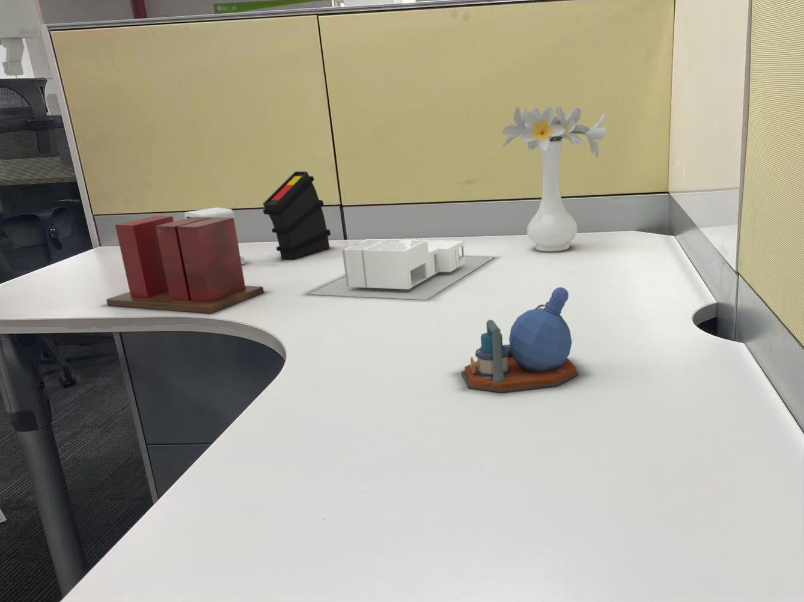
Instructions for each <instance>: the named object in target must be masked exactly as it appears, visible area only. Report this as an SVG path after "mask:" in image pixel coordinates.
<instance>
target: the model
mask: <svg viewBox="0 0 804 602" xmlns="http://www.w3.org/2000/svg"><path fill="white" fill-rule="evenodd" d="M568 300H569V292H568V289H566V288H565V287H562V286H560V287H559V286H557V288H555V289H554V290H553V291H552V292H551V296H550V297H549V300H548V301H546V302H545V304H538V306H536V307H535V308H532V309H529V310H526V311H525V312H523V313H522V314H520V315H519V316H518V317H516V319H515V321H514V322H513V324H512V325H511V327H510V332H509V337H508V341H509V344H503V333H501V329H500V328H499V326H498V325H497V324H496V322H495V321H494V320H493V319H488V320H487V321H486V323H485V324H486V332H484V333H481V334H480V347H479V348H477V349H476V350H475V357H476V359H477V360H476V361H475V360H474V357H473V356H470V362H469V364H468V365H465V366H464V370H461V372H460V374H461V377H463V380H464V382H465V384H466V386H467V388H468V389H473V390H480V391H487V392H493V393H507V392H508V393H510V392H518V391H526V390H527V391H528V390H535V389H543V388H552V387H558V386H560V385H562V384H564V383H566V382H568V381H570V380H572V379H574V378H576V377H577V376H579V371H578V370H577V367H576V366H575V364H574V363H573V362H572V361H571V360H570V359H569V358H568V357H569V356H570V353H571V348H572V345H573V340H572V334H571V330H570V327H569V325H568V323H567V322H566V321H565V319H564V317H563V316H562V315H561V314H562V310H563V309H564V307H565V305H566V303H567V301H568ZM543 307H544V308H543Z"/></svg>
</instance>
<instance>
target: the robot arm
mask: <svg viewBox="0 0 804 602" xmlns="http://www.w3.org/2000/svg"><path fill="white" fill-rule="evenodd" d="M41 32H42V23H41V19H40V16H39V13H38V10H37V7H36V4H35V1H34V0H0V41H1V44H2V47H3V48H5V49H6V51H5V52H6V53H5V61H1V63H2V67H3V72H4V74H5V75H6V76H23V75H24V67H23V65H22V60H23V56H24V51H25V45H24V41H23V39H29V38H31V39H32V38H39V37H40V35H41Z"/></svg>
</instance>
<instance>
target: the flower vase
mask: <svg viewBox="0 0 804 602" xmlns="http://www.w3.org/2000/svg"><path fill="white" fill-rule="evenodd" d="M555 114H556V115H555ZM581 116H582V111H581V109H580V108H579V107H574V108H572V109H571V111H570V112H569V113H568V115H567V113H566V111H565V110H564V109H563V108H562V107H561V106H559V105H558V106H555V110H554V107H551V106H548V107H547V108H545V109H544V111H542V112H541V110H540V109H539V108H538V107H535V106H534V107H532V109H531V111H527V108H525V109H524V110H523V111H522V112H521V109H520V107H519V106H516V107H515V110H514V113H513V121H514V123H509V124H507V125H505V127H504V128H503V129H502V131H501V132H502V135H506V136H507V138H506V139H505V140H504V142H503V144H502V146H503V147H506V146H507V145H509V144H510V143H511V142H512V141H513V140H516V138H518V137H520V138H519V140H520V141H521V142H523V143H527V149H528V150H530V151H533V150H535V149H536V148H538V149H539V153H540V159H541V170H542V172H541V173H542V175H541V176H542V183H541V185H542V187H541V189H542V190H541V198H540V199H541V200H540V204H539V207H538V209H537V211H536V213H534V215H533V216H532V218H531V219H530V220H529V222H528V224H527V226H526V227H527V228H526V235H527V237H528V238H529V240H530V241H531V242H532V243H534V244H535V249H536V250H537V251H540V252H545V253H546V252H549V253H552V252H554V253H555V252H561V251H566V250H569V248H570V243H571V242H573V240H574V239H575V238H576V236H577V235H578V232H579V230H578V225H577V222H576V220H575V218H574V217H573V216H572V215H571V214H570V213H569V212H568V211H567V209H566V208H565V207H566V206H565V204H564V203H563V199H562V195H561V186H560V185H561V184H560V164H559V163H560V155H561V148H562V146H563V139H565V140H567V141H569V142H570V143H571V144H572V145H573V146H575V147H578V144H580V145H584V141H583V140H582V138H581V137H580V136H579V135H584V136H586V138H587V141H588V144H589V148H590V152H591V154H594V155H595V158H598V157H599V155H600V145H599V142H598V141H601V140H603V139H604V138H605V137H606V134H607V129H606V127H601V126H602V125H603V123H604V120H605V118H606V113H603V114H602V116H601V117H600V118H599V119H598V121H597V122H595V124H594V125H592V127H591V128H589V126H587V125H585V124H583V123H578V122H579V121H580V119H581Z"/></svg>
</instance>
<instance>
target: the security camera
mask: <svg viewBox="0 0 804 602" xmlns="http://www.w3.org/2000/svg"><path fill="white" fill-rule="evenodd" d="M191 217H213V218H214V217H226V218H234V222H235V223H236V219H235V213H234V211H233V209H231V208H224V207H211V208H203V209H199V210H192V211H191V210H190V211H185V212H184V219H187V218H191ZM235 228H236V229H237V225H236V224H235ZM236 234H237V235H238V232H237V230H236ZM237 240H238V241H239V238H238V236H237ZM240 258H241V264H242V265H245V264H246V263H245V257H244V256H242V255H240Z"/></svg>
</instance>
